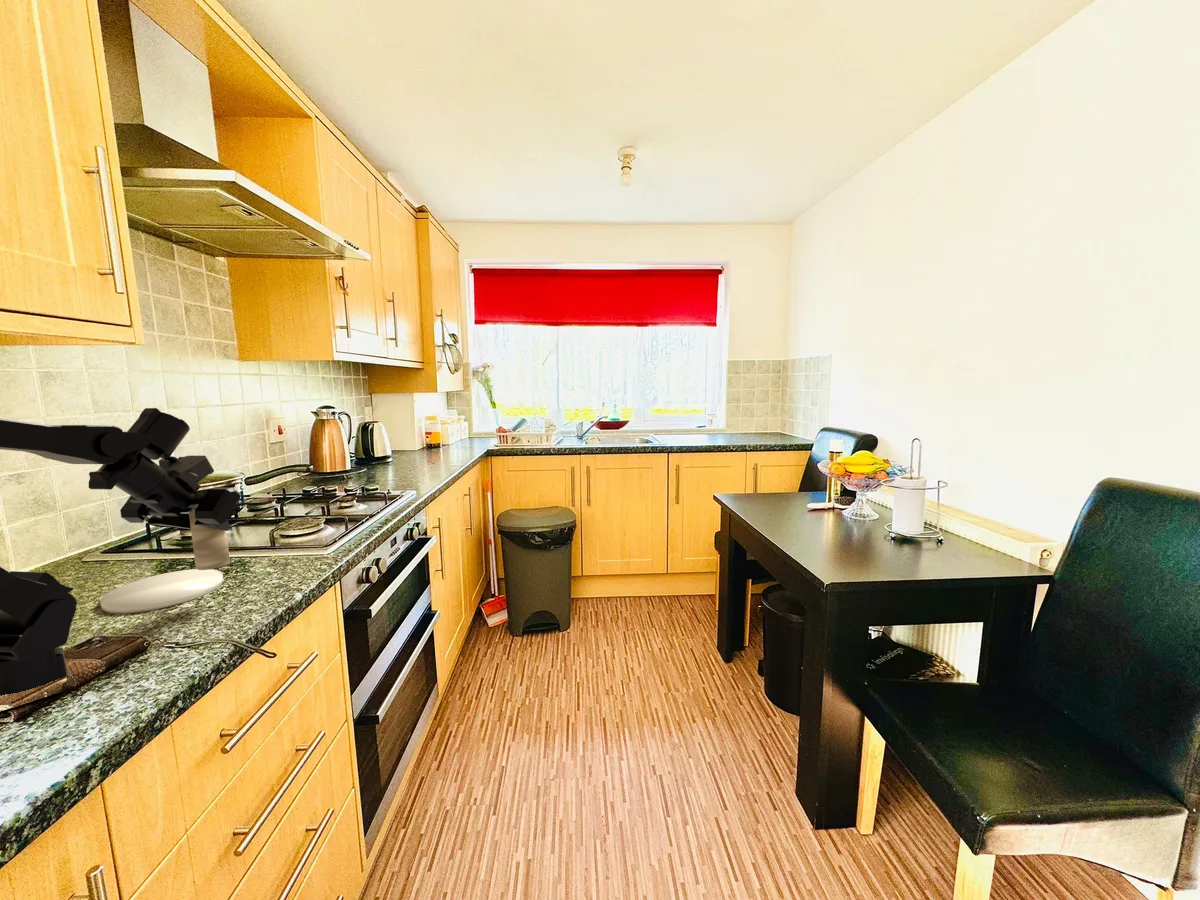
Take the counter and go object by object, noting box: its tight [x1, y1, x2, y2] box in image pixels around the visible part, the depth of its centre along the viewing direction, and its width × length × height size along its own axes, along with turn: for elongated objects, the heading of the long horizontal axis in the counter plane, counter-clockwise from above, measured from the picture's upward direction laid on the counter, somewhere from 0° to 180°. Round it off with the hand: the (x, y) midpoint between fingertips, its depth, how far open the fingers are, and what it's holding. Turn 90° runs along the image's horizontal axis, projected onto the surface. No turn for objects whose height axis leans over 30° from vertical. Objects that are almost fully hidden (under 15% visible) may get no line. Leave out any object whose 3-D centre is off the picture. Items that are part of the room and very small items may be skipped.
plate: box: [99, 568, 224, 614], centre depth 98 cm, size 18×18×1 cm
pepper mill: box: [189, 509, 231, 570], centre depth 92 cm, size 5×5×13 cm
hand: (215, 528), depth 93 cm, fingers closed on pepper mill, 5 cm apart
